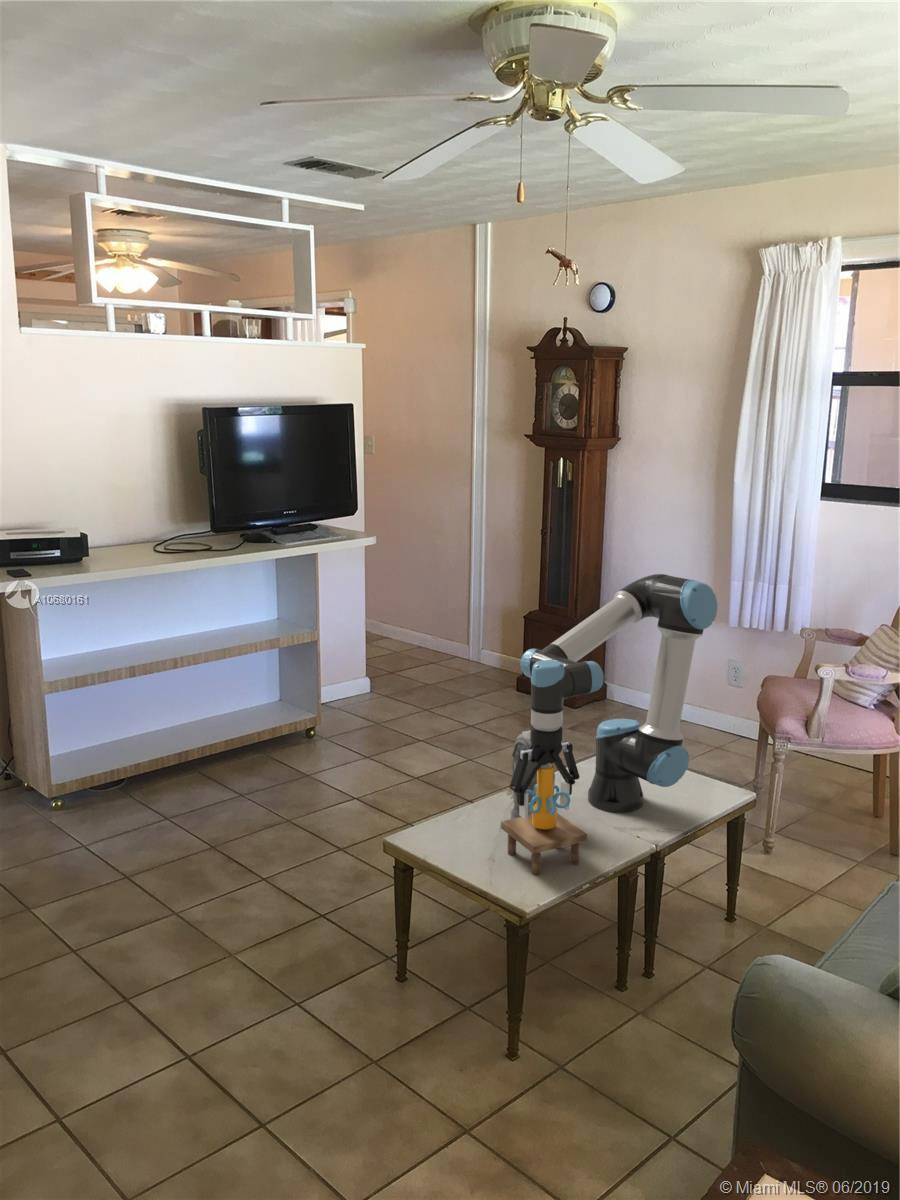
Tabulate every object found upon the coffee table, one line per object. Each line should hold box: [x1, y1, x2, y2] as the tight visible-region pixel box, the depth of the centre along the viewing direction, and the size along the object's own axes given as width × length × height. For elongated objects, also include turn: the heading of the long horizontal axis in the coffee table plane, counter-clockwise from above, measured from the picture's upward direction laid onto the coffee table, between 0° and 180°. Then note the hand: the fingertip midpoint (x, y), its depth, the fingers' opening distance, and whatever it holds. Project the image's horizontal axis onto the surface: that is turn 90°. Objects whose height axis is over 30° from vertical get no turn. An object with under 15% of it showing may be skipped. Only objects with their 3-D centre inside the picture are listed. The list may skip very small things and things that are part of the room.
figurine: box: [509, 729, 556, 819], centre depth 252 cm, size 10×14×25 cm
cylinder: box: [526, 764, 571, 829], centre depth 230 cm, size 12×10×15 cm
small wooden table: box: [500, 812, 588, 876], centre depth 233 cm, size 15×15×8 cm
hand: (544, 812), depth 231 cm, fingers closed on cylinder, 11 cm apart
